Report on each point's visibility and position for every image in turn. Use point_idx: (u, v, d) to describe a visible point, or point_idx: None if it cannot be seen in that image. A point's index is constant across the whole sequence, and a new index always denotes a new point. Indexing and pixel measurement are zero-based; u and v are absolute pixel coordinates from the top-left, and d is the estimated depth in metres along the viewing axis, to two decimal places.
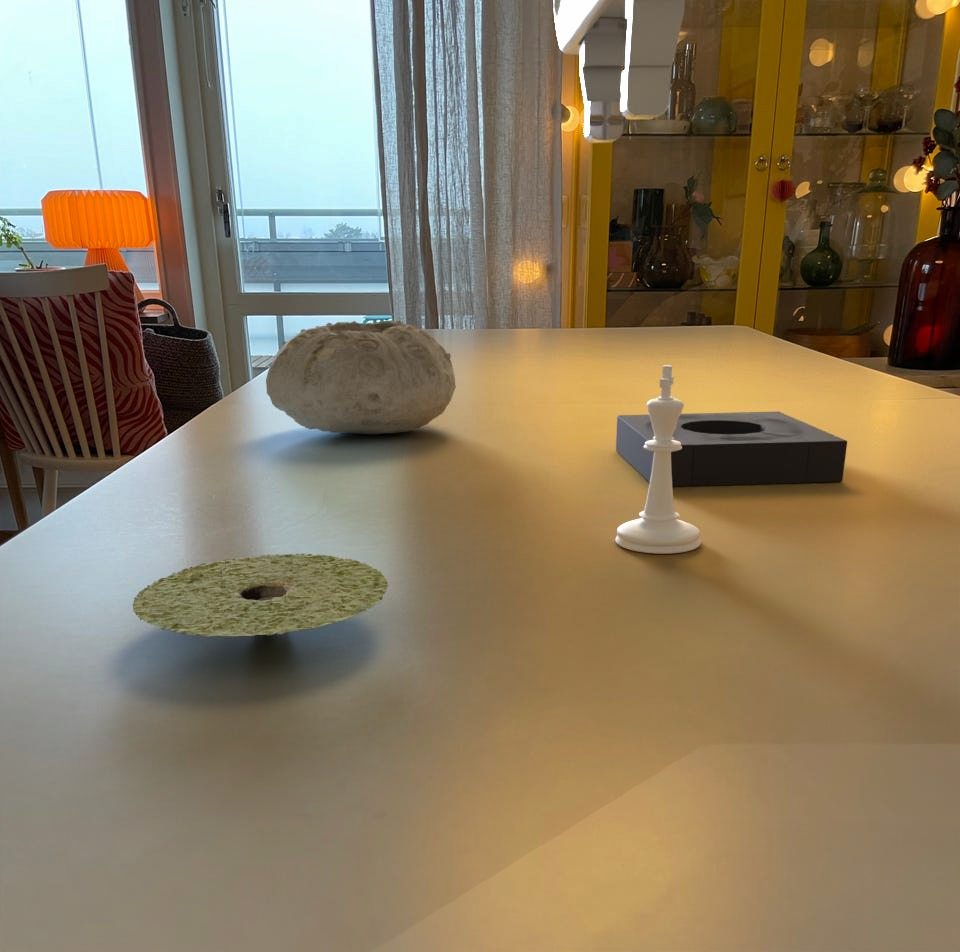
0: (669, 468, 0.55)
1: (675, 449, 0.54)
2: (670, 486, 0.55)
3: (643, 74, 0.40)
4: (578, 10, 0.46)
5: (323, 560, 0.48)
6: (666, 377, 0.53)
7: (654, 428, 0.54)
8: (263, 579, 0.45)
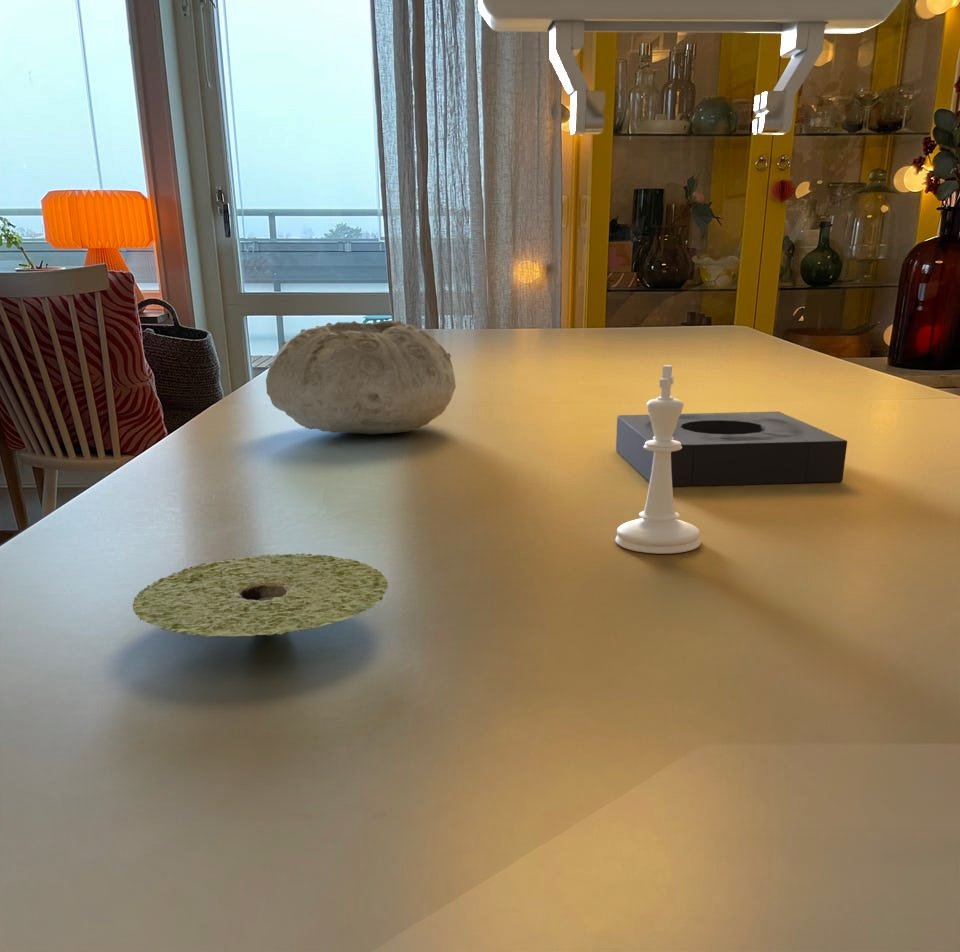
0: (669, 468, 0.55)
1: (675, 449, 0.54)
2: (670, 486, 0.55)
3: None
4: (646, 1, 0.45)
5: (323, 560, 0.48)
6: (666, 377, 0.53)
7: (654, 428, 0.54)
8: (263, 579, 0.45)
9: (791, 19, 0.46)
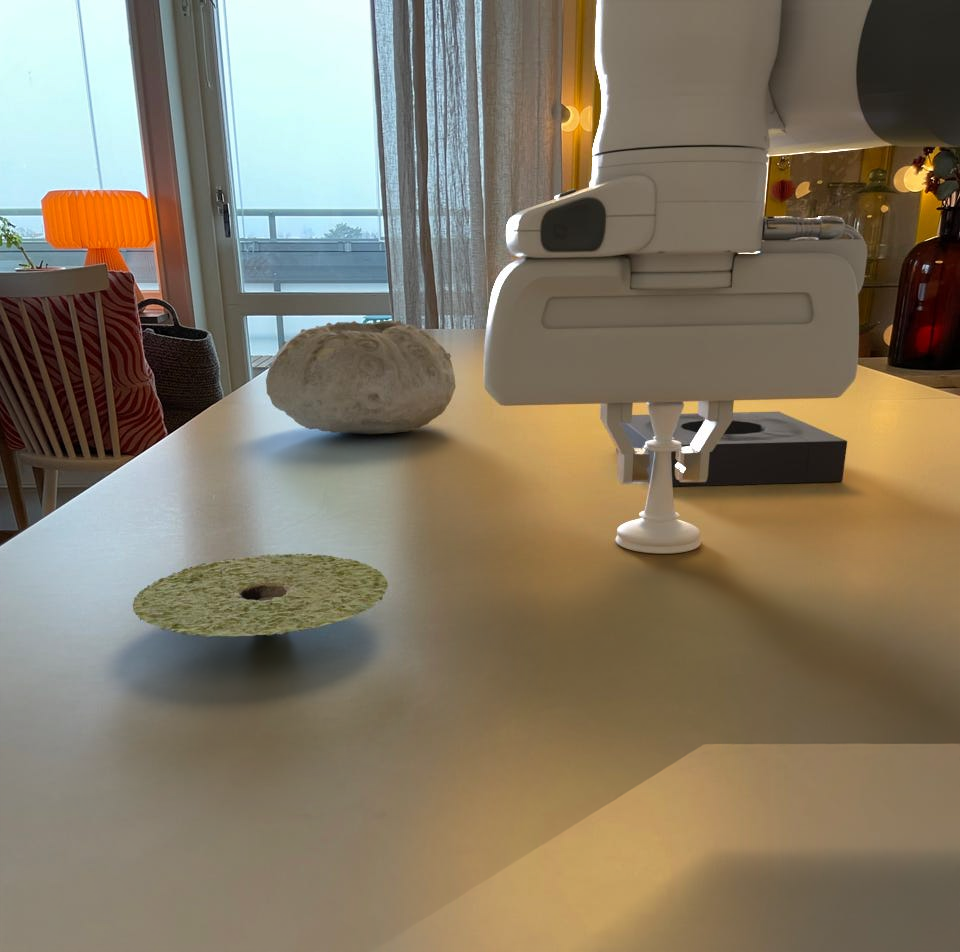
0: (669, 468, 0.55)
1: (675, 449, 0.54)
2: (670, 486, 0.55)
3: None
4: (630, 391, 0.52)
5: (323, 560, 0.48)
6: None
7: (654, 428, 0.54)
8: (263, 579, 0.45)
9: (757, 399, 0.53)
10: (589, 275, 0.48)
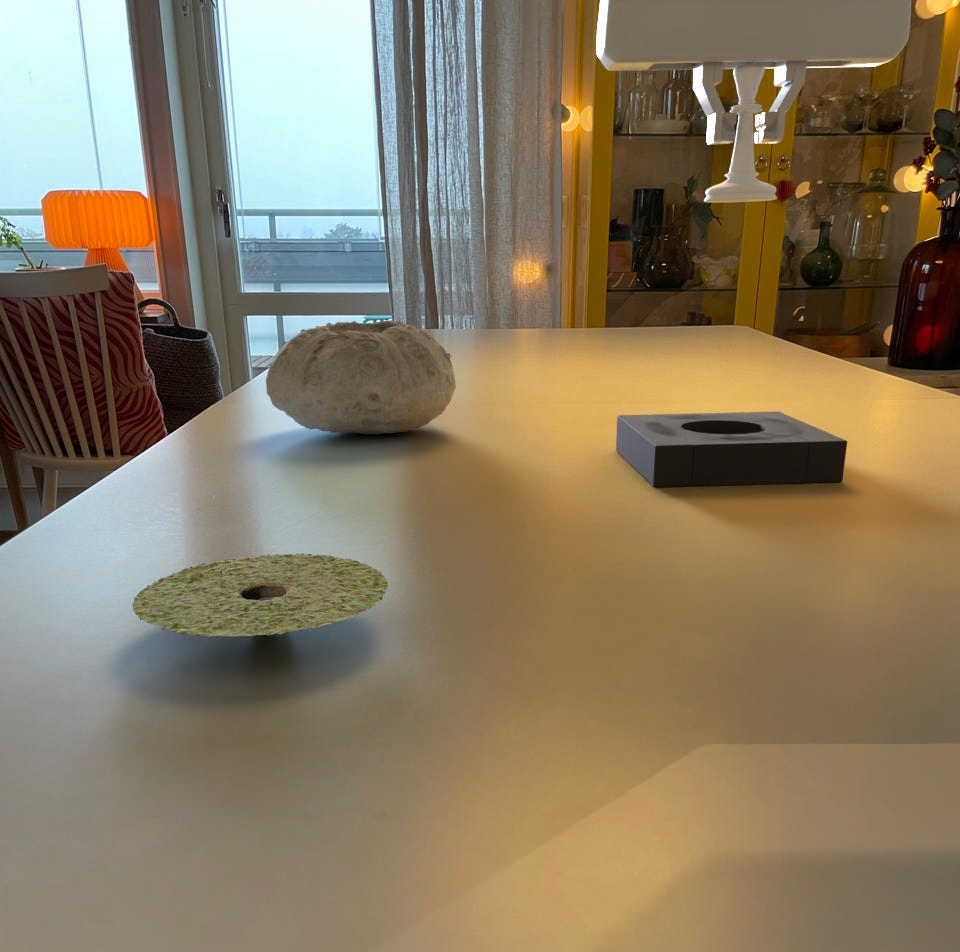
0: (751, 128, 0.65)
1: (757, 108, 0.65)
2: (752, 145, 0.66)
3: None
4: (723, 48, 0.62)
5: (323, 560, 0.48)
6: None
7: (739, 91, 0.65)
8: (263, 579, 0.45)
9: (827, 59, 0.63)
10: None
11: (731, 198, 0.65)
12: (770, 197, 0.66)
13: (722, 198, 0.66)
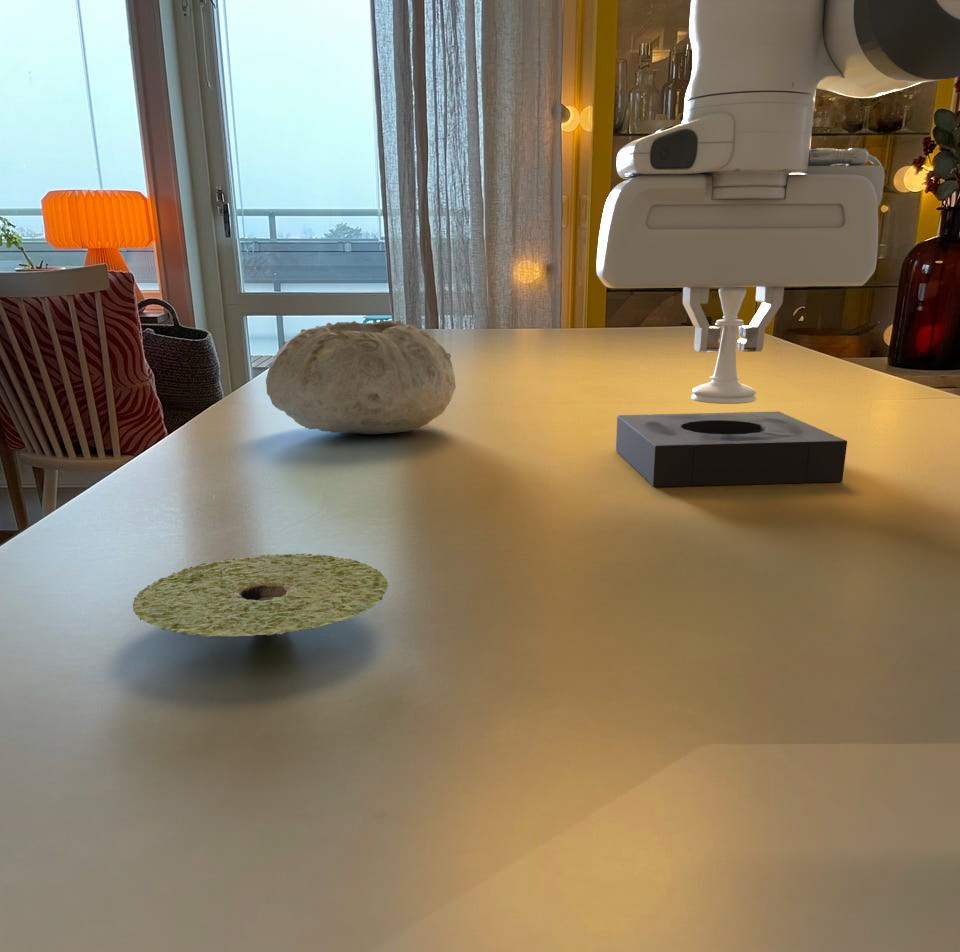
0: (734, 340, 0.73)
1: (739, 324, 0.72)
2: (734, 354, 0.73)
3: None
4: (709, 277, 0.70)
5: (323, 560, 0.48)
6: None
7: (724, 309, 0.72)
8: (263, 578, 0.45)
9: None
10: (683, 187, 0.66)
11: (714, 402, 0.73)
12: (750, 401, 0.73)
13: (706, 401, 0.73)
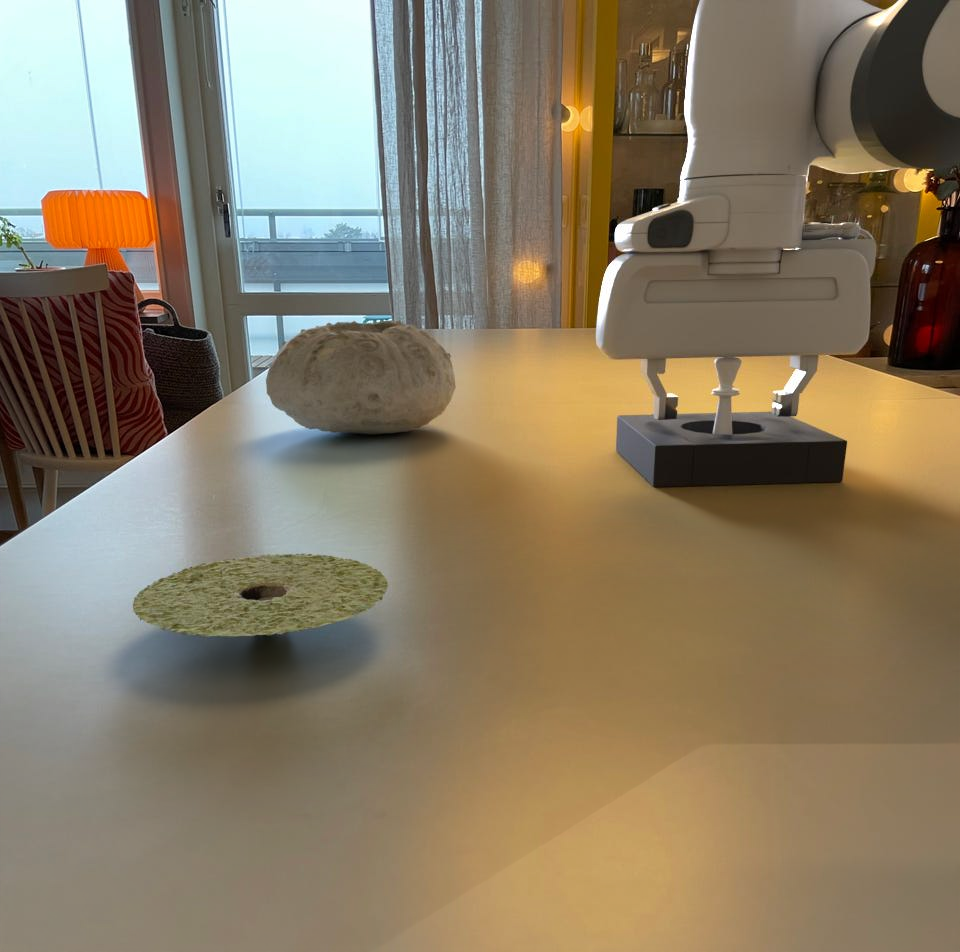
0: (730, 408, 0.75)
1: (735, 394, 0.74)
2: (730, 422, 0.75)
3: None
4: (705, 349, 0.71)
5: (323, 560, 0.48)
6: None
7: (719, 379, 0.74)
8: (263, 579, 0.45)
9: (796, 355, 0.72)
10: (680, 264, 0.68)
11: None
12: None
13: None
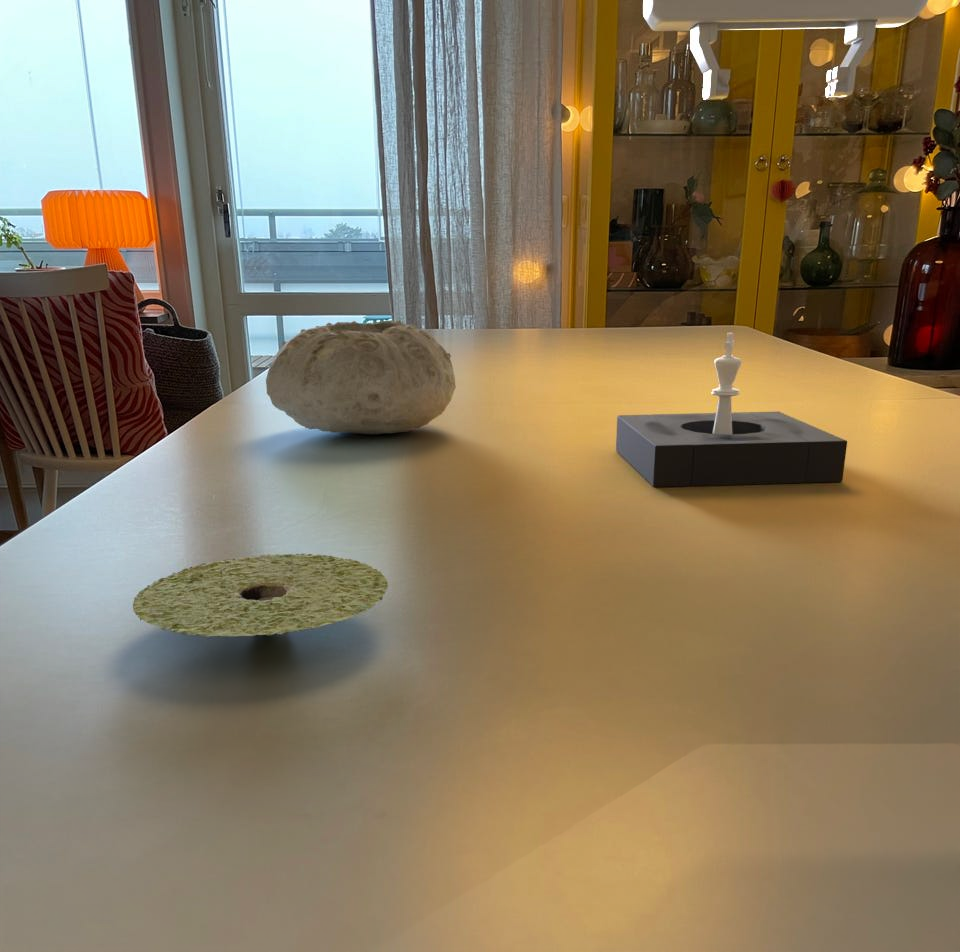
0: (730, 408, 0.75)
1: (735, 394, 0.74)
2: (730, 422, 0.75)
3: None
4: (760, 8, 0.68)
5: (323, 560, 0.48)
6: (729, 341, 0.73)
7: (719, 379, 0.74)
8: (263, 579, 0.45)
9: (854, 18, 0.69)
10: None
11: None
12: None
13: None
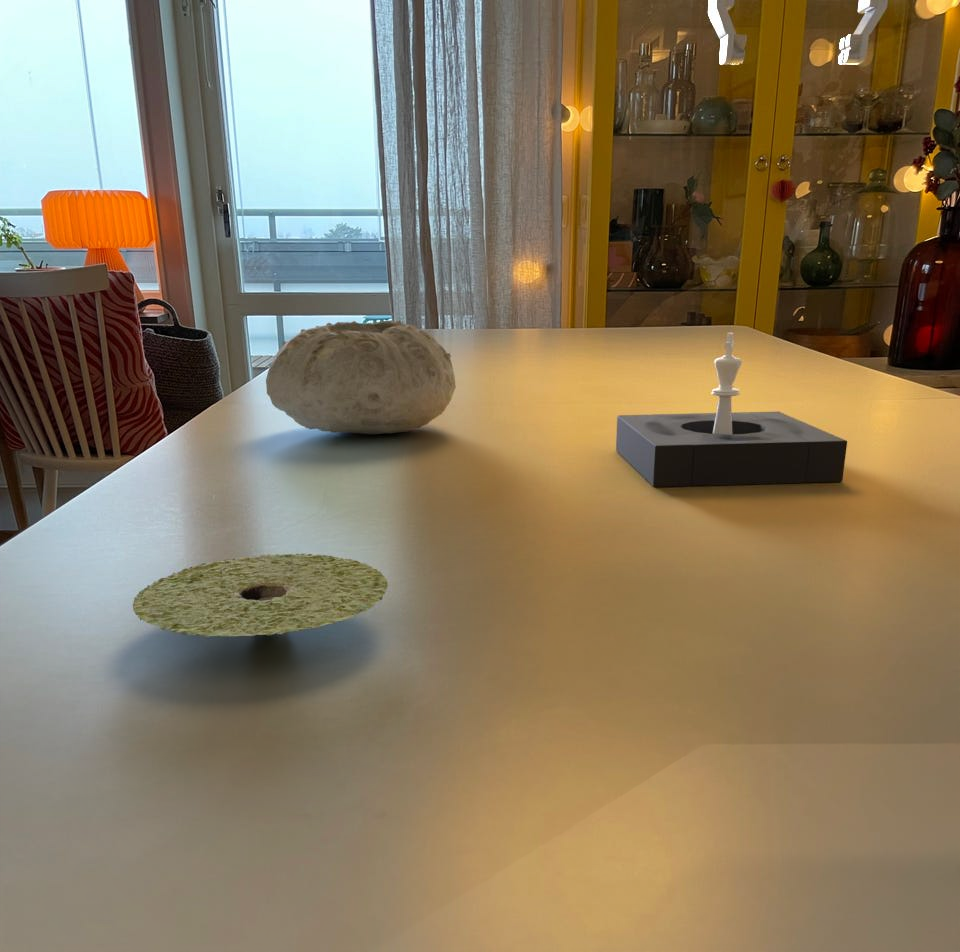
0: (730, 408, 0.75)
1: (735, 394, 0.74)
2: (730, 422, 0.75)
3: None
4: None
5: (323, 560, 0.48)
6: (729, 341, 0.73)
7: (719, 379, 0.74)
8: (263, 579, 0.45)
9: None
10: None
11: None
12: None
13: None
